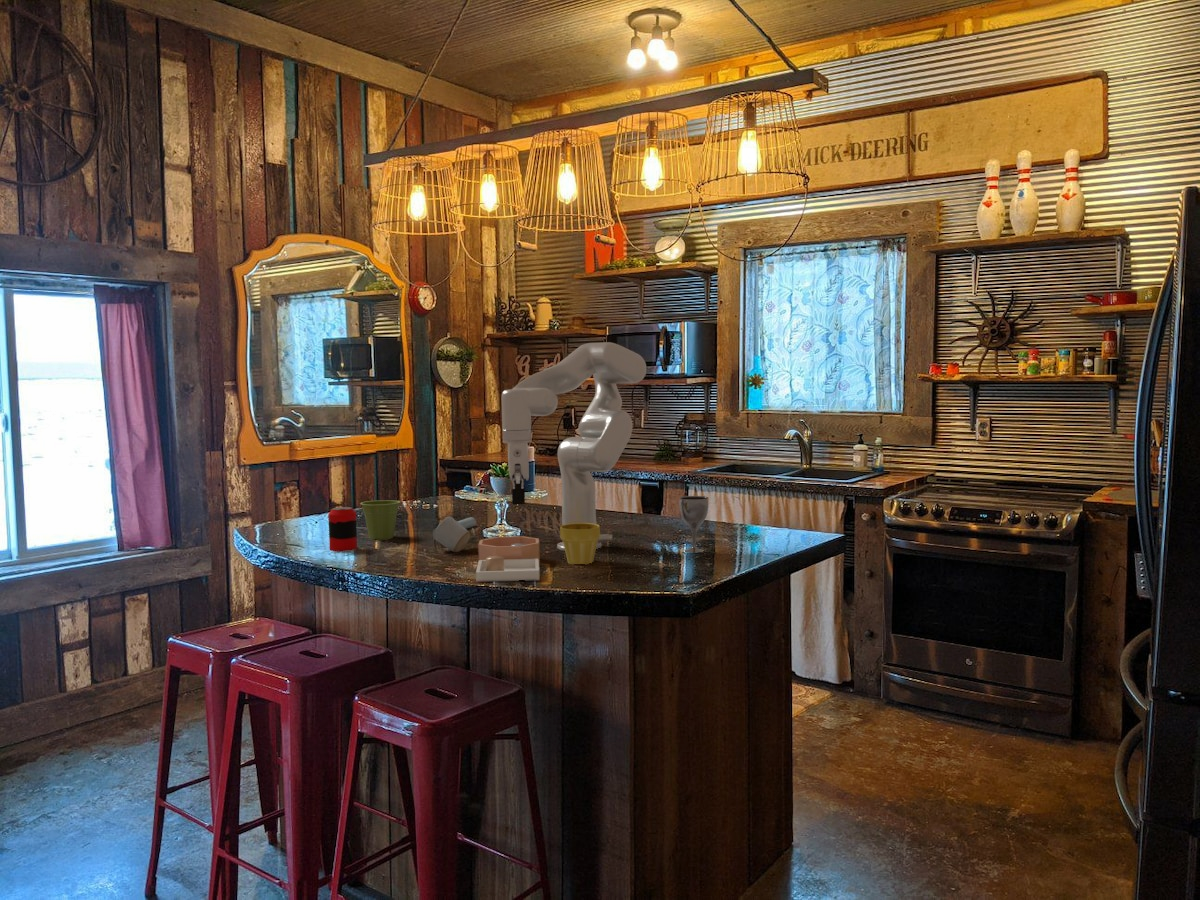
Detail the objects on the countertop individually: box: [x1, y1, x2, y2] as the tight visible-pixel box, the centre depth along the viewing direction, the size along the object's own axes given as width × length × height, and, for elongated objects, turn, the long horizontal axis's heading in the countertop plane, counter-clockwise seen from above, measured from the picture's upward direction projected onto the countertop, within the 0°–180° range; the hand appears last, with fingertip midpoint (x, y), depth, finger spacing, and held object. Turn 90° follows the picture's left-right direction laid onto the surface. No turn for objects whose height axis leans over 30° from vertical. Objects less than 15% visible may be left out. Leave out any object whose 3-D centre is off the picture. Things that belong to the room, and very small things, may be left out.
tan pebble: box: [486, 556, 504, 571], centre depth 231 cm, size 4×4×4 cm
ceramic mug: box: [432, 516, 471, 553], centre depth 264 cm, size 11×8×8 cm
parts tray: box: [475, 559, 540, 583], centre depth 231 cm, size 15×15×2 cm
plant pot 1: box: [359, 499, 401, 541], centre depth 286 cm, size 12×12×11 cm
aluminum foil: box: [432, 516, 477, 536], centre depth 299 cm, size 23×7×3 cm, turn 160°
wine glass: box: [678, 495, 710, 553], centre depth 258 cm, size 8×8×15 cm
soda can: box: [328, 506, 358, 552], centre depth 268 cm, size 8×8×12 cm
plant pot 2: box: [559, 523, 601, 565], centre depth 245 cm, size 10×10×10 cm
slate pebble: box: [511, 543, 527, 546], centre depth 248 cm, size 4×4×4 cm
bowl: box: [477, 535, 541, 564], centre depth 247 cm, size 16×16×6 cm
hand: (518, 501), depth 247 cm, fingers open, 9 cm apart
